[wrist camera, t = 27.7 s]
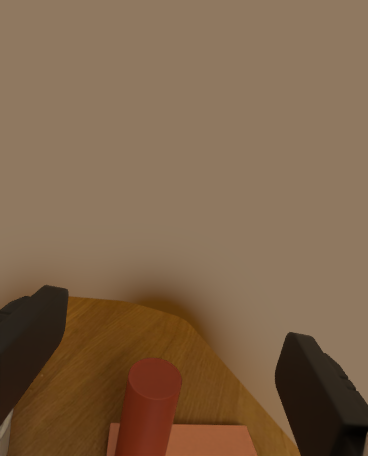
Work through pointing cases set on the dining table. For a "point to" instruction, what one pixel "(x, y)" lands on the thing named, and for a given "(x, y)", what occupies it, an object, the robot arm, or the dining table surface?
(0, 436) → the teacup
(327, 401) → the robot arm
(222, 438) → the board
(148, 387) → the rust pin
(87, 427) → the dining table surface
